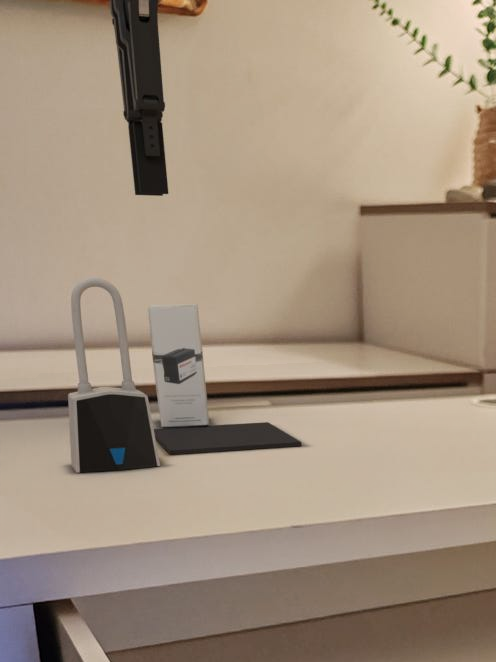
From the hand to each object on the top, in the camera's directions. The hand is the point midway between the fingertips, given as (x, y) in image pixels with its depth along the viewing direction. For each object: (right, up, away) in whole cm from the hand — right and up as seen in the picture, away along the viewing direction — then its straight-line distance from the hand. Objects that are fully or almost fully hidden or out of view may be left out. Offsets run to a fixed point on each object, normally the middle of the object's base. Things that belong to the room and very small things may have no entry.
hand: (151, 193), depth 106 cm
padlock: (+3, -31, -19) cm, 37 cm away
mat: (+9, -26, -6) cm, 29 cm away
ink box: (+3, -23, +1) cm, 24 cm away
